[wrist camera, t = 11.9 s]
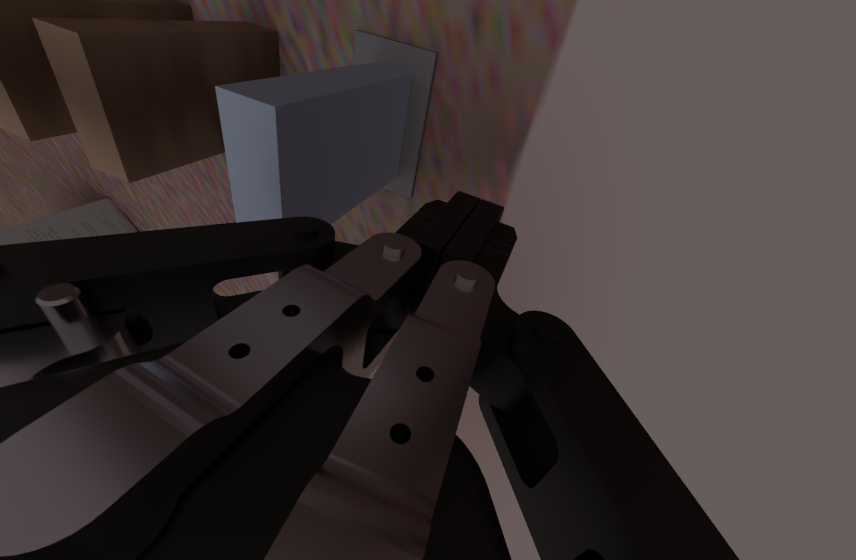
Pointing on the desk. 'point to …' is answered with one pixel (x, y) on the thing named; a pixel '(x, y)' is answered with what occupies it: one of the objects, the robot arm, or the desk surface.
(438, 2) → the desk surface
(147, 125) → the tile
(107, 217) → the skincare box
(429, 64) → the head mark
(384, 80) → the blue-grey rectangular block
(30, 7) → the tile
